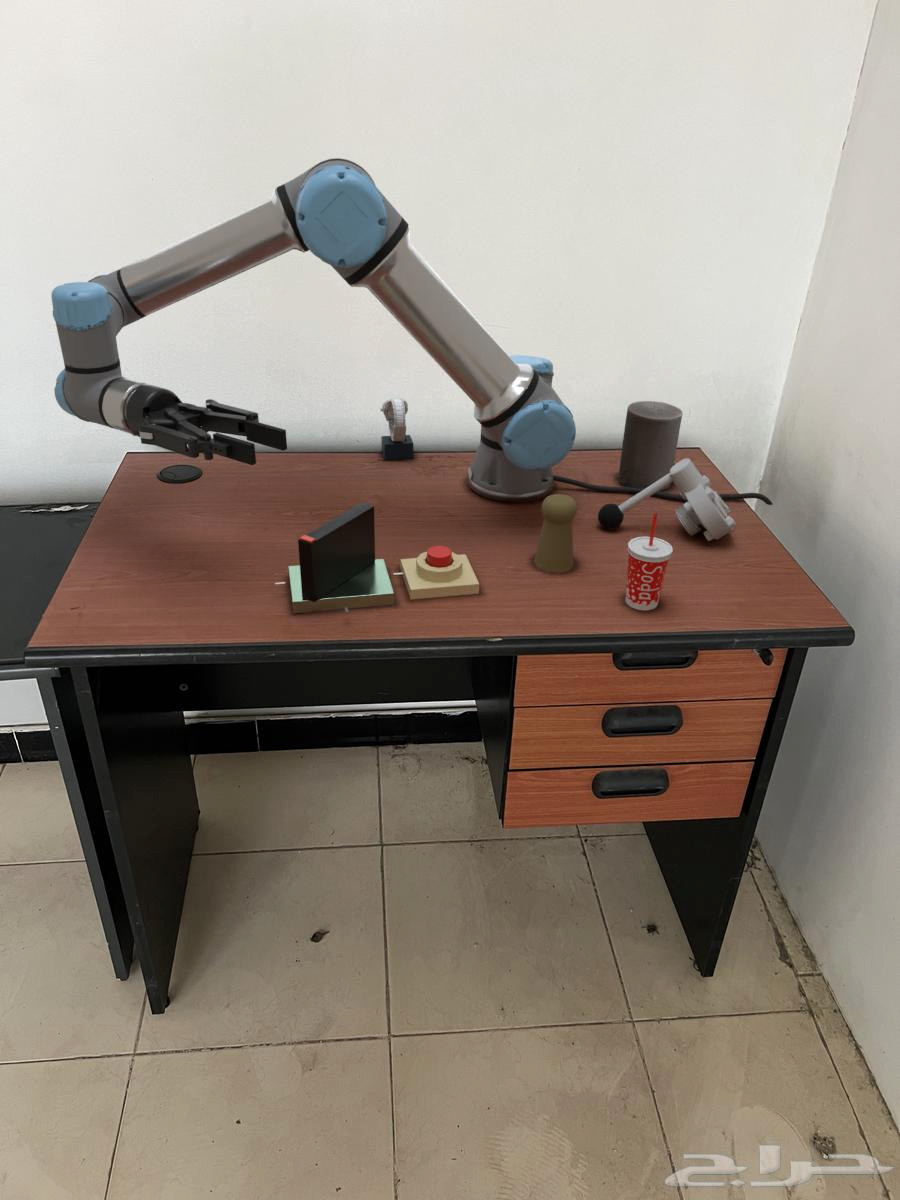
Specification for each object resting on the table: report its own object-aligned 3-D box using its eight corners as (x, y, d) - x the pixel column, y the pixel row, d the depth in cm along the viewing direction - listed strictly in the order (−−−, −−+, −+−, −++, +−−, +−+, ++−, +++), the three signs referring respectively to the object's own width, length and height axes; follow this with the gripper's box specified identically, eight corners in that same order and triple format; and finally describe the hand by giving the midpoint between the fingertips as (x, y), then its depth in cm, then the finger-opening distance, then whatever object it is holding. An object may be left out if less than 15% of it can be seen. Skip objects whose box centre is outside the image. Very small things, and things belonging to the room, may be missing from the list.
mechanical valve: (743, 535, 140) (691, 461, 136) (645, 594, 147) (593, 525, 142) (733, 512, 149) (684, 441, 145) (641, 568, 156) (592, 502, 152)
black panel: (363, 557, 133) (361, 500, 128) (375, 561, 132) (374, 504, 127) (301, 597, 123) (297, 537, 118) (314, 602, 122) (310, 542, 117)
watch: (408, 446, 176) (408, 391, 170) (414, 462, 169) (415, 406, 163) (379, 447, 175) (378, 393, 169) (385, 463, 168) (384, 407, 162)
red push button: (448, 555, 132) (449, 544, 131) (453, 567, 129) (454, 556, 128) (424, 557, 131) (424, 546, 130) (429, 569, 128) (429, 558, 127)
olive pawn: (547, 576, 134) (554, 509, 128) (526, 558, 138) (532, 493, 132) (581, 567, 136) (589, 502, 130) (559, 550, 141) (566, 486, 135)
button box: (465, 563, 136) (466, 543, 134) (478, 593, 129) (480, 572, 127) (400, 568, 134) (400, 548, 132) (410, 599, 127) (410, 578, 125)
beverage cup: (616, 608, 126) (628, 519, 119) (624, 587, 131) (636, 501, 124) (659, 617, 125) (675, 527, 117) (666, 596, 130) (681, 508, 122)
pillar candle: (613, 487, 162) (623, 407, 154) (623, 467, 170) (633, 390, 162) (667, 496, 159) (680, 415, 151) (674, 475, 167) (688, 397, 159)
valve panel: (393, 556, 138) (393, 543, 136) (413, 619, 123) (414, 606, 121) (273, 565, 134) (272, 552, 133) (279, 631, 119) (278, 618, 118)
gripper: (195, 417, 135) (315, 452, 125) (96, 456, 122) (221, 498, 111) (189, 368, 131) (313, 400, 121) (86, 402, 118) (215, 441, 107)
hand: (268, 447), depth 116 cm, fingers open, 5 cm apart
